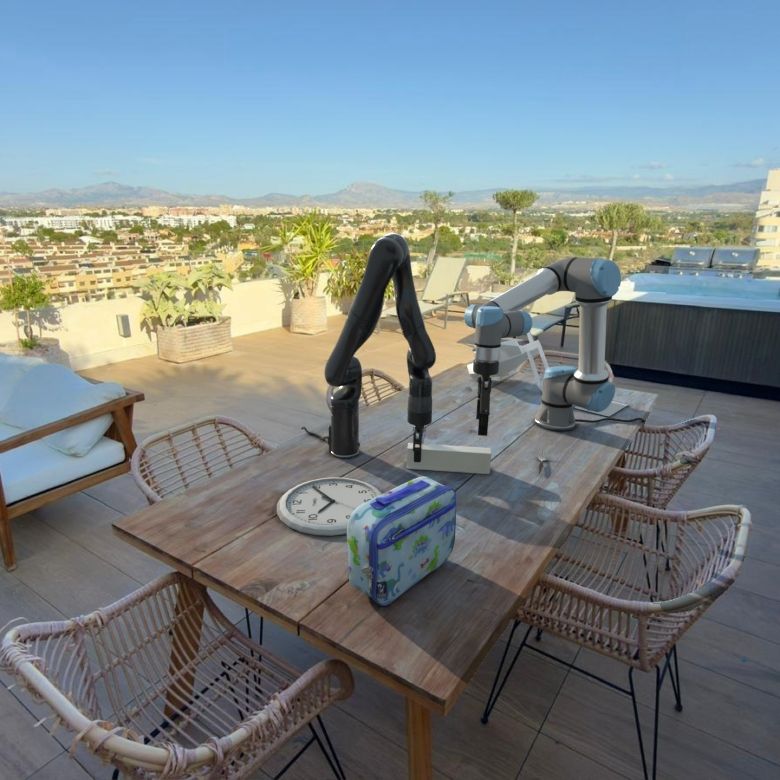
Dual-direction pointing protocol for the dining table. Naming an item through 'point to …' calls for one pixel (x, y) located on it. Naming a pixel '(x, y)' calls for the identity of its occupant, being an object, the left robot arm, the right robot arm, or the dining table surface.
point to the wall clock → (324, 504)
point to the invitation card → (608, 409)
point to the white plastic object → (517, 358)
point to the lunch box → (400, 538)
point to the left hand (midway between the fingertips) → (418, 456)
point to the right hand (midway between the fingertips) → (481, 426)
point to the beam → (451, 458)
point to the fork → (542, 460)
